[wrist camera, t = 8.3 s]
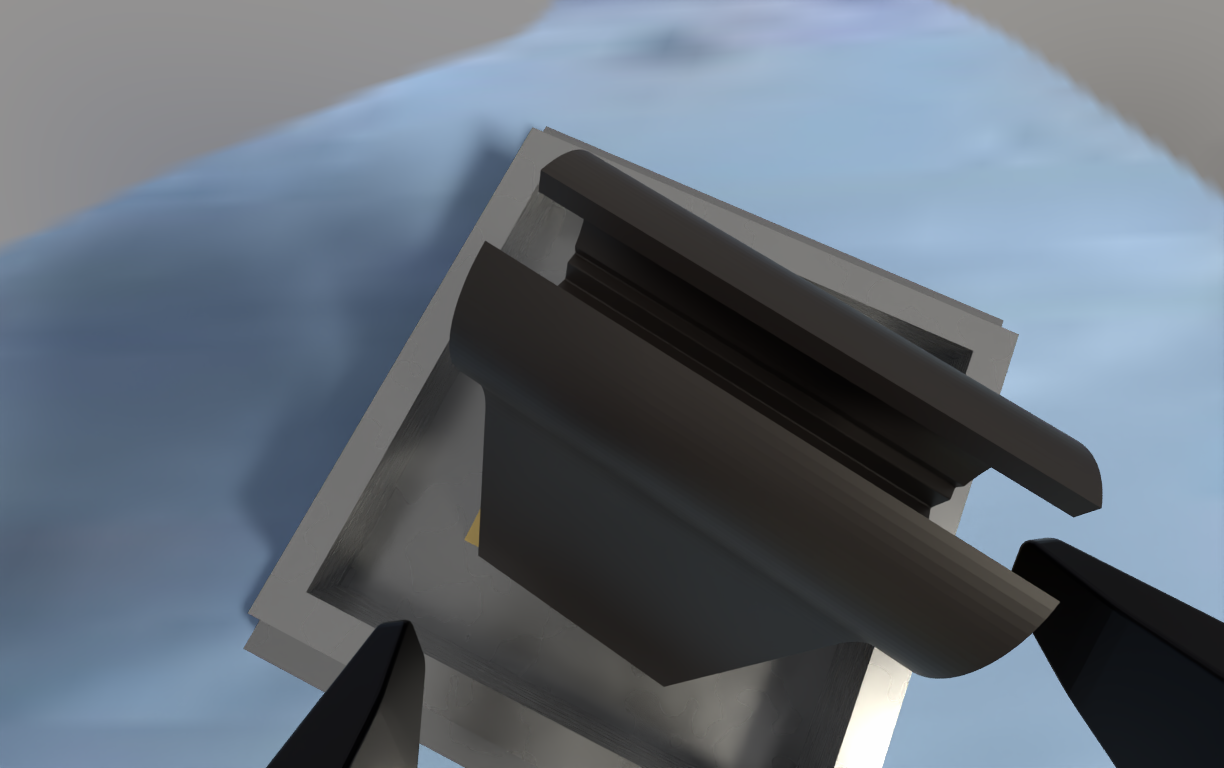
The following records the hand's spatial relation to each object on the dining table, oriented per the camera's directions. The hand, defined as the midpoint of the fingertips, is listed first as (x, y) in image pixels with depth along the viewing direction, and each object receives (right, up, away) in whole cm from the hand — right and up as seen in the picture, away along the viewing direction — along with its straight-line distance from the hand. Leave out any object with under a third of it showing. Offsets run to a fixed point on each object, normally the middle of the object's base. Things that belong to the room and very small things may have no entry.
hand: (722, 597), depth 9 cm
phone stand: (0, 0, +9) cm, 9 cm away
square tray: (0, 0, +9) cm, 9 cm away
